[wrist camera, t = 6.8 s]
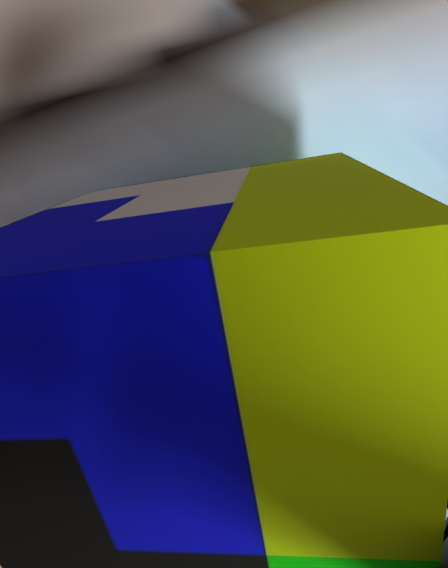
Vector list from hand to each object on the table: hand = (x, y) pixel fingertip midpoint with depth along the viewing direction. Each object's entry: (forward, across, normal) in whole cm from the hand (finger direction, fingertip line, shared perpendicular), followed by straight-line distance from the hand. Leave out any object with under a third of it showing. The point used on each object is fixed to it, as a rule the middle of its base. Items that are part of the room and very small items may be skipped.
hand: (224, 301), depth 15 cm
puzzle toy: (+2, 0, 0) cm, 2 cm away
